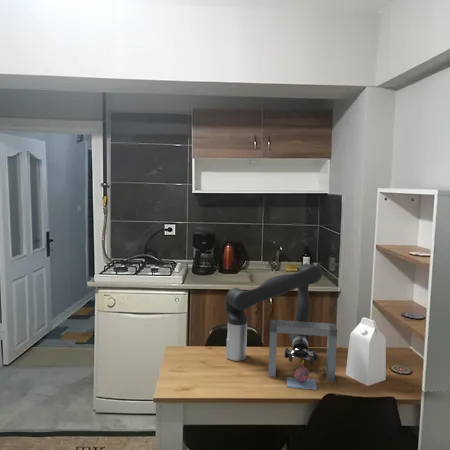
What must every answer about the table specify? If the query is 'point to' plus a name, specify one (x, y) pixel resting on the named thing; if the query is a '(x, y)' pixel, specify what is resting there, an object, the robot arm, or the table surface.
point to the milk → (367, 353)
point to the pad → (298, 384)
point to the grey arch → (304, 329)
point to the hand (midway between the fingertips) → (301, 360)
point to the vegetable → (302, 373)
